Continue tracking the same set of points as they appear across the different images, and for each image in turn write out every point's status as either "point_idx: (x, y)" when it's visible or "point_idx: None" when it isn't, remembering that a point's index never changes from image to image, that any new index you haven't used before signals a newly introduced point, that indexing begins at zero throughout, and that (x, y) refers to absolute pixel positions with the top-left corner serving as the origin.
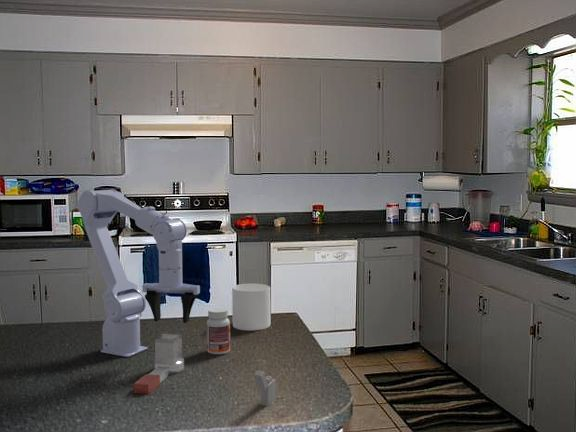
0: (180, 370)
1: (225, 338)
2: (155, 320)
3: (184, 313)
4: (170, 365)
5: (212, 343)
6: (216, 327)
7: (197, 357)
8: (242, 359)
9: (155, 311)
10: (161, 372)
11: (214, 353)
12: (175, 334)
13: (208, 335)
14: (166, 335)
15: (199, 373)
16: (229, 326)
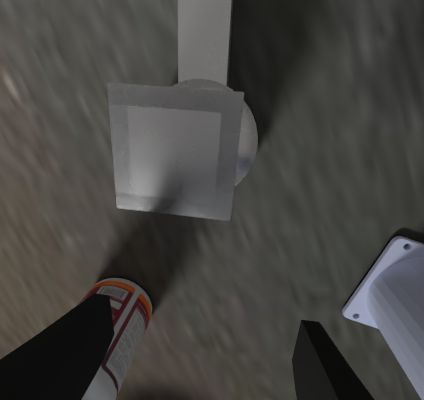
0: None
1: None
2: (314, 325)
3: (41, 344)
4: (173, 85)
5: (110, 301)
6: None
7: (160, 254)
8: (34, 247)
9: (334, 395)
10: (185, 3)
11: (119, 278)
12: (151, 206)
13: (116, 330)
14: (196, 182)
15: (92, 115)
16: None
